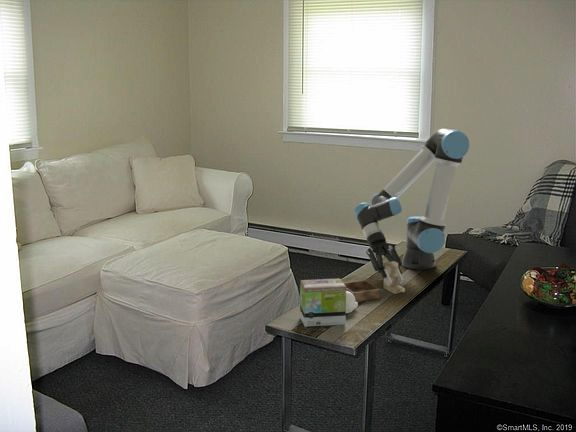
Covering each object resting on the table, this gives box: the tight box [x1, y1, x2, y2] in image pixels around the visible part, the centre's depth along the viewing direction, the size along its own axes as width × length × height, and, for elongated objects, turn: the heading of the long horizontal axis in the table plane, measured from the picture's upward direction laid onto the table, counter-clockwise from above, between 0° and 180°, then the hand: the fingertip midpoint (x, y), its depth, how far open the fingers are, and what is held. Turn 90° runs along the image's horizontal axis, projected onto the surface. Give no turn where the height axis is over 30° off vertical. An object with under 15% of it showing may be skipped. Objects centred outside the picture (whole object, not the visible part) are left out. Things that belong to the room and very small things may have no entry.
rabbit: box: [346, 291, 359, 314], centre depth 247 cm, size 12×9×12 cm
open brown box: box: [343, 279, 381, 303], centre depth 264 cm, size 12×13×4 cm
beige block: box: [383, 261, 406, 295], centre depth 270 cm, size 5×8×11 cm, turn 26°
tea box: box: [299, 278, 347, 328], centre depth 236 cm, size 15×10×15 cm, turn 99°
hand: (395, 283), depth 269 cm, fingers closed on beige block, 5 cm apart
